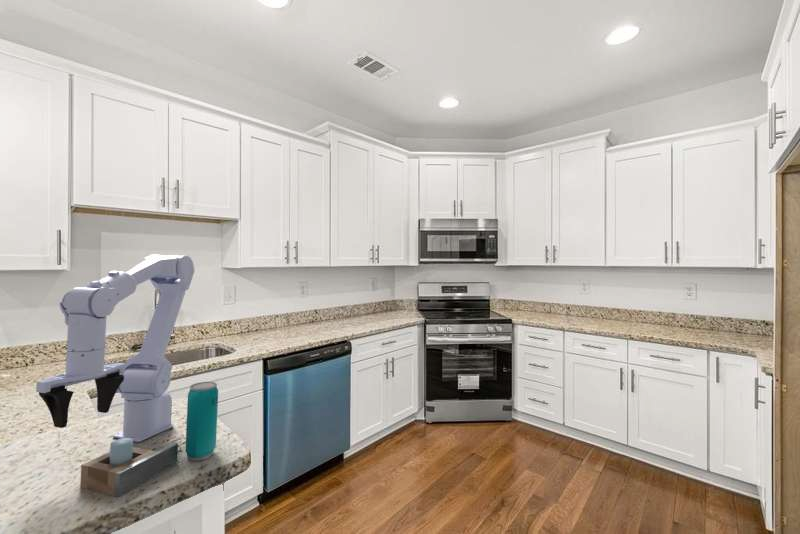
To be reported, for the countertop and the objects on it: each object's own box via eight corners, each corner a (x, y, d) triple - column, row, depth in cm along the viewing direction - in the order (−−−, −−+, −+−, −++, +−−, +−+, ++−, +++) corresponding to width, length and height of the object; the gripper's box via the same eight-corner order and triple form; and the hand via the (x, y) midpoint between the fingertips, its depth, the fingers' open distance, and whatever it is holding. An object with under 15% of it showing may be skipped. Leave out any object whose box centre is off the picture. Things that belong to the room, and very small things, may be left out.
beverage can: (219, 448, 82) (222, 381, 82) (210, 461, 76) (213, 389, 77) (191, 449, 81) (194, 381, 81) (180, 463, 75) (183, 389, 76)
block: (124, 465, 74) (125, 445, 74) (155, 472, 72) (156, 451, 72) (80, 487, 66) (81, 464, 66) (114, 495, 64) (115, 472, 64)
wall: (173, 462, 76) (174, 442, 76) (177, 463, 75) (178, 443, 75) (114, 495, 64) (115, 472, 64) (118, 497, 64) (119, 473, 64)
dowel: (127, 472, 71) (129, 436, 71) (134, 478, 69) (136, 441, 69) (105, 480, 68) (107, 442, 69) (112, 487, 67) (114, 448, 67)
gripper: (108, 340, 80) (105, 403, 80) (25, 354, 66) (21, 430, 66) (134, 343, 78) (130, 408, 78) (54, 358, 64) (50, 436, 64)
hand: (82, 418), depth 72 cm, fingers open, 7 cm apart
